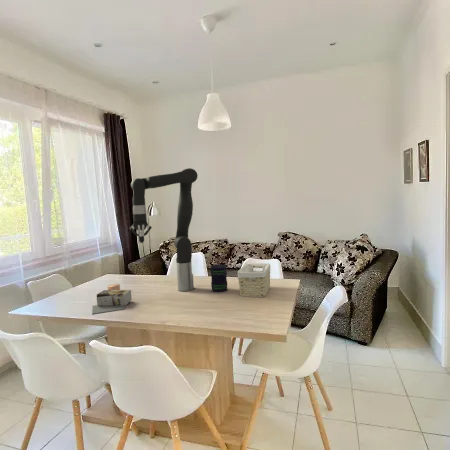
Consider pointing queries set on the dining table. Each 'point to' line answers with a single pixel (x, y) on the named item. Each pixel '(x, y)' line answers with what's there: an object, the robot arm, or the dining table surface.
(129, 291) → the coffee box
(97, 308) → the mat
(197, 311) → the dining table surface
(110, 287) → the peach rounded knob
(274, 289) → the dining table surface
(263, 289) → the storage basket
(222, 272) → the storage jar
